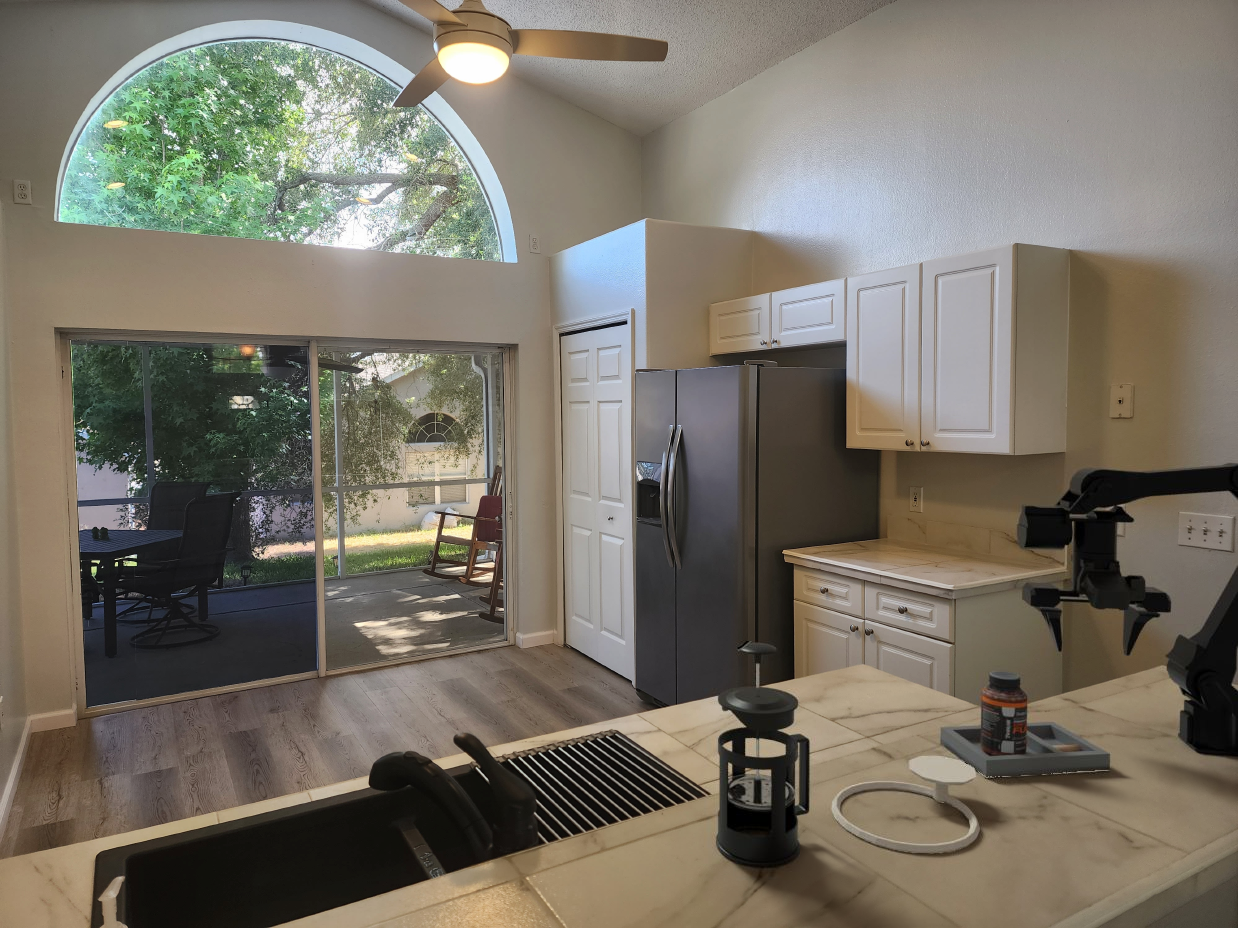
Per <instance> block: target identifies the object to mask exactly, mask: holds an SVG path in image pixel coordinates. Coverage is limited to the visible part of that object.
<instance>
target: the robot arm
mask: <svg viewBox="0 0 1238 928" xmlns="http://www.w3.org/2000/svg"><path fill="white" fill-rule="evenodd" d="M1220 492H1229V493H1230V494H1231V496H1233V497H1234V498H1235V499H1236V500H1237V501H1238V463H1237V462H1227V463H1224V464H1220V465H1205V466H1196V467H1182V468H1181V467H1180V468H1169V469H1156V470H1155V469H1153V470H1143V471H1137V470H1135V471H1134V470H1124V469H1112V468H1111V469H1110V468H1101V467H1085V468H1081V469H1079V470H1077V471H1076V472H1075V473H1074V475H1073V476H1072V477H1071V479H1070V481H1069V488H1068V489H1067V490H1066V491H1065V493H1063V495H1062V496H1061V498H1060V499H1058V501H1057V502H1056V503H1055V505H1053V506H1048V505H1047V506H1046V505H1045V506H1043V505H1042V506H1040V505H1039V506H1037V505H1034V504H1023V505H1021V513H1020V515H1019V518H1018V523H1017V524H1016V537H1017V542H1018V543H1017V544H1018V546H1019V548H1020V549H1021V550H1042V551H1043V550H1044V551H1045V550H1047V551H1063V550H1064V549H1065V547H1066V546H1070V544H1071V543H1072V554H1070V562H1072V570H1071V571H1072V573H1071V575H1072V576H1071V577H1072V579H1071V580H1070V585H1069V587H1070V588H1071V589H1064V588H1063V589H1062V588H1058V587H1057V586H1055V585H1054V584H1052V583H1051V582H1030V581H1029V582H1025V583H1024V585H1023V586H1022V588H1021V599H1022V601H1024V602H1025V603H1026V604H1028V605H1029V606H1030V607H1033V608H1034V609H1036V611H1038V612H1039V613H1041V615H1042V616H1043V619H1044V621H1045V623H1046V625H1047V628H1048V630H1049V632H1050V636H1051V639H1052V640H1053V641H1052V642H1053V643H1054V646H1055V649H1056V650H1057V652H1059V653H1062V651H1063V636H1062V622H1061V621H1062V620H1061V617H1062V613H1063V610H1062V609H1061V608H1059V607H1058V605H1059V604H1060V603H1061V602H1063V603H1087V604H1088V603H1089V605H1090V606H1091V608H1094V609H1095V610H1106V609H1110V610H1119V611H1123V624H1122V625H1123V626H1122V628H1123V631H1122V632H1123V633H1122V649H1123V654H1124V656H1126V657H1127V656H1128V657H1129V656H1131V653H1132V651H1133V649H1134V646H1135V645H1136V642H1137V640H1138V637H1139V636H1140V634H1141V632H1142V631H1143V629H1144V627H1145V626H1146V624H1147V623H1148V622H1150V621H1152V619H1154V618H1156V619H1157V618H1160V617H1161V613H1164V614H1165V613H1167V614H1169V613H1172V600H1171V596H1170V595H1169V594H1168V593H1167V592H1165V591H1163V590H1160V589H1158V588H1157V587H1154V586H1146V579H1145V578H1144V576H1143V575H1138V574H1137V575H1132V574H1129V575H1127V576H1125V575H1124V576H1123V575H1122V572H1121V565H1120V560H1118V523H1124V524H1125V523H1126V524H1127V523H1129V524H1130V523H1134V522H1135V518H1134V517H1133V516H1132V515H1130V514H1129V513H1127V512H1126V511H1125V509H1124V508H1123V506H1120V505H1125V504H1129V503H1133V502H1135V501H1138V500H1141V499H1145V498H1149V497H1161V496H1175V495H1176V496H1177V495H1191V494H1207V493H1220ZM1097 508H1098V509H1099V510H1097ZM1102 508H1103V509H1105V510H1101V509H1102ZM1107 508H1110V509H1109V510H1107ZM1165 658H1167V660H1168V661H1167V663H1166V671H1167V675H1168V677H1169V678H1170V680H1172V682H1173V683H1175V685H1177V686H1178V688H1179V691H1180V692H1181V694H1182V695H1183V696H1184V697H1187V698H1188V699H1184V700H1183V709H1181V710H1180V711H1179V732H1177V737H1178V738H1179V739H1181V740H1182V741H1183V742H1184V743H1185V744H1187V745H1188V746H1189V747H1190V748H1191V749H1193V750H1194V751H1195V752H1198V753H1203V754H1204V753H1206V754H1217V755H1231V756H1238V689H1237V688H1235V686H1233V683H1234V679H1235V676H1236V674H1237V670H1238V565H1237V566H1236V567H1235V570H1234V571H1233V573H1232V575H1231V576H1230V578H1229V580H1228V582H1227V584H1225V587H1224V589H1223V591H1222V592H1221V594H1220V596H1219V597H1218V599H1217V601H1216V603H1215V605H1214V606H1213V608H1212V610H1211V612H1210V613H1209V615H1208V617H1207V618H1206V620H1205V622H1204V624H1203V626H1202V627H1201V628H1200V630H1199V631H1198V632H1197V633H1195V634H1193V635H1192V636H1191V637H1190V638H1188V637H1186V636H1184V635H1183V634H1178V636H1177V637H1176V638H1175V641H1174V644H1173V647H1172V649H1171V650H1170V651H1169V652H1168V653H1166V654H1165Z"/></svg>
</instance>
